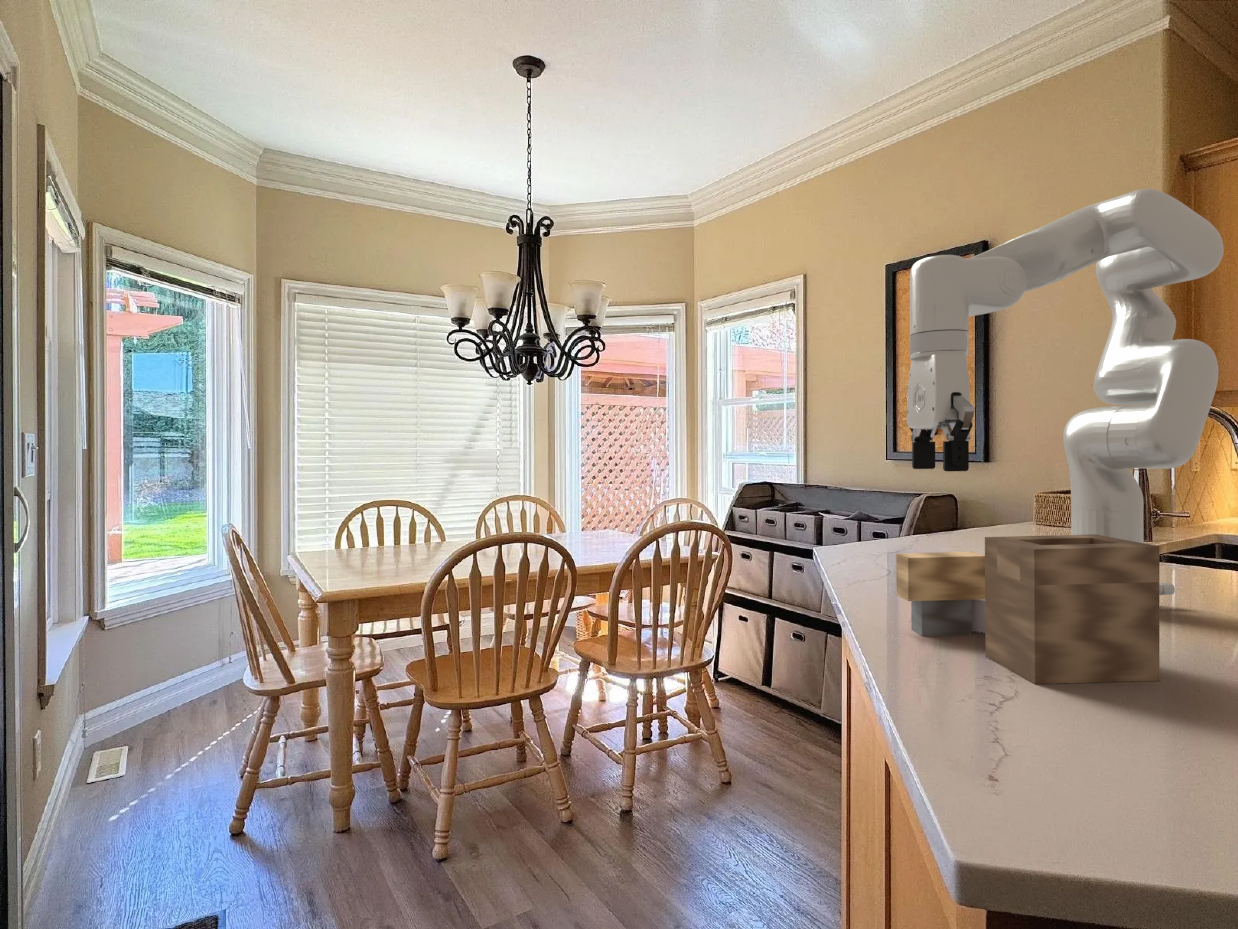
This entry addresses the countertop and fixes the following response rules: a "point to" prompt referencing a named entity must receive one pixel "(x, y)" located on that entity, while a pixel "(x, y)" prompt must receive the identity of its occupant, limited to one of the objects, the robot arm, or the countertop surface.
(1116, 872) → the countertop surface
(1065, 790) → the countertop surface
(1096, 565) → the wooden crate
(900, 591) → the tan rectangular block
